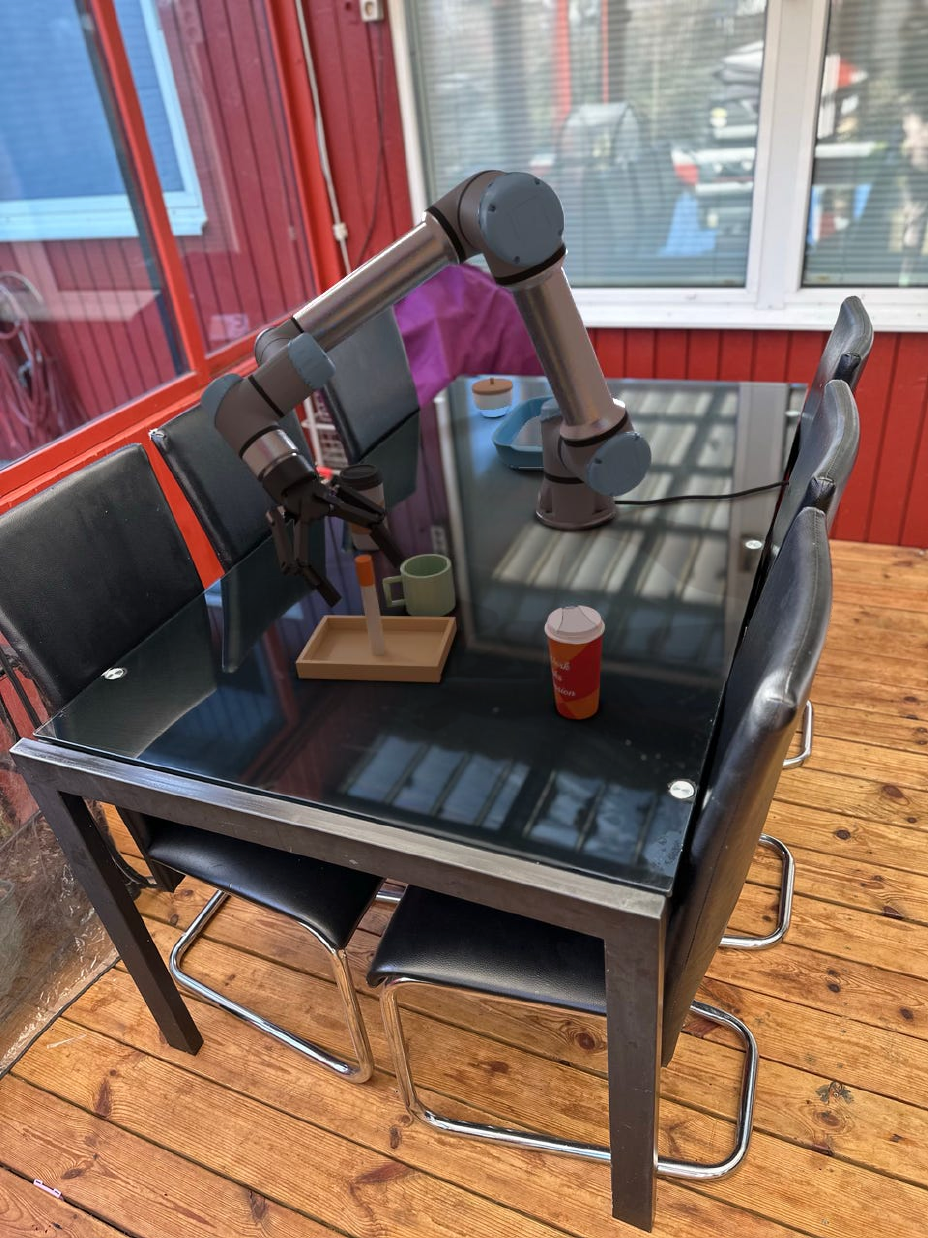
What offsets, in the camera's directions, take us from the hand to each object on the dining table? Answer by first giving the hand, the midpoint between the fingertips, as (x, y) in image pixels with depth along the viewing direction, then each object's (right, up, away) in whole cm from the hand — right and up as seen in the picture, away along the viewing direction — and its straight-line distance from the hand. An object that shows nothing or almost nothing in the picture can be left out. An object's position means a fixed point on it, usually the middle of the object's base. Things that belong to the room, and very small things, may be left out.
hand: (369, 582), depth 129 cm
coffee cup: (-4, +9, +41) cm, 42 cm away
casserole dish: (+34, +34, +75) cm, 89 cm away
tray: (+1, -11, +7) cm, 13 cm away
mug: (+7, -4, +17) cm, 19 cm away
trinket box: (+22, +48, +100) cm, 113 cm away
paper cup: (+29, -17, -9) cm, 35 cm away
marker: (+1, -10, +6) cm, 12 cm away
